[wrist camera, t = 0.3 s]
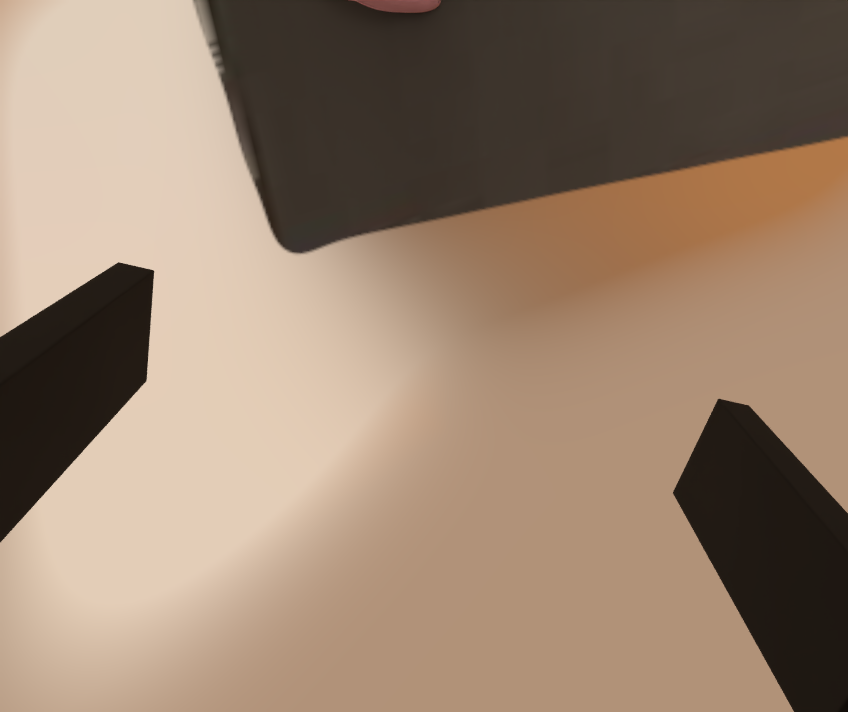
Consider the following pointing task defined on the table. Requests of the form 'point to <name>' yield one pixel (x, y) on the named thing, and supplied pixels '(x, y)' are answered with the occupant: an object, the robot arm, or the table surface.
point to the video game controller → (401, 5)
